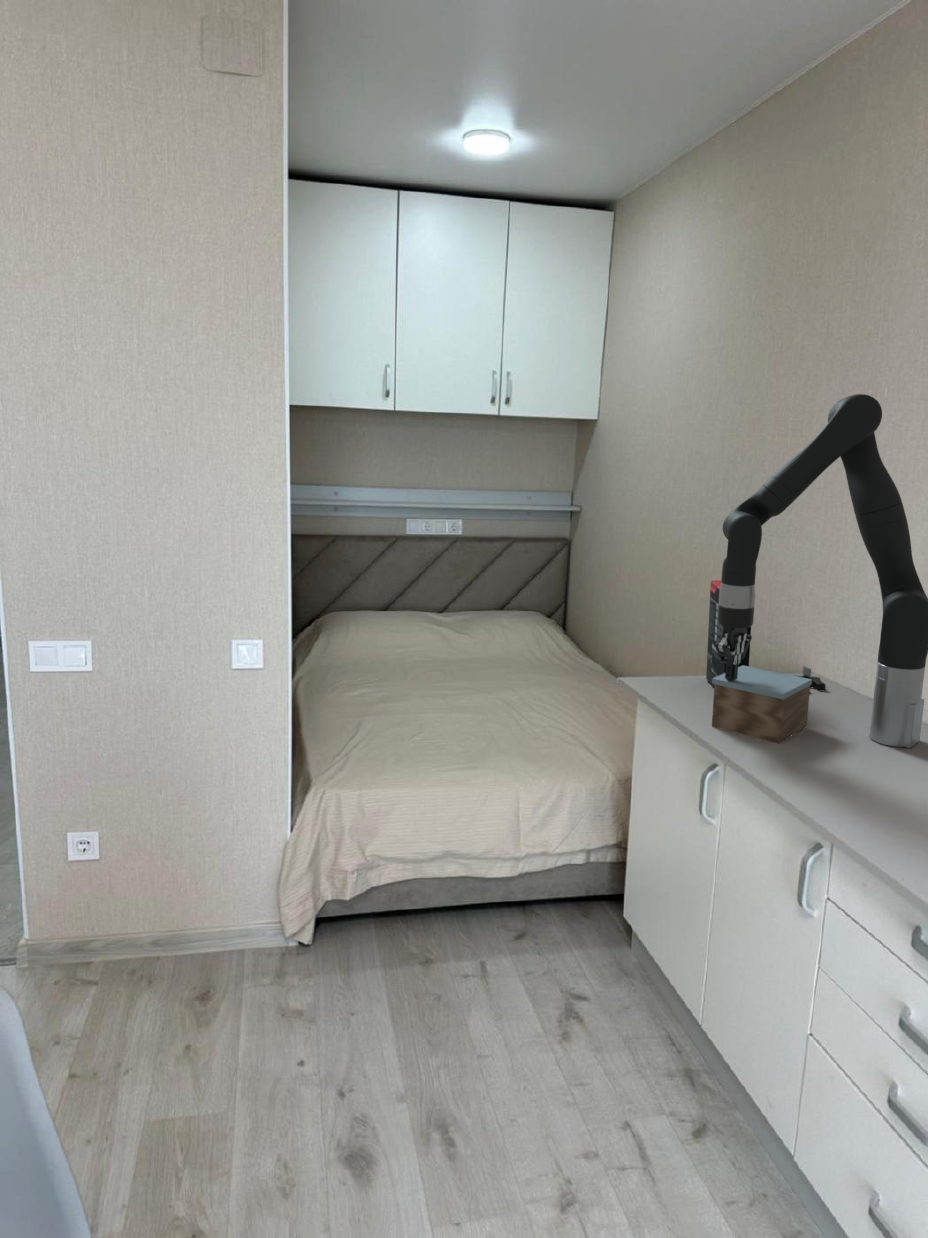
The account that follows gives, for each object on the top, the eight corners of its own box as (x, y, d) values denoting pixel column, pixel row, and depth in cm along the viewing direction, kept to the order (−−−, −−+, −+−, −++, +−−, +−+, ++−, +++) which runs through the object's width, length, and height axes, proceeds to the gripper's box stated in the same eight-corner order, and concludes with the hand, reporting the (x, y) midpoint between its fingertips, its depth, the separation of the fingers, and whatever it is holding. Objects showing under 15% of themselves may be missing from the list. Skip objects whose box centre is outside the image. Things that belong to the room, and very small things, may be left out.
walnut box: (806, 727, 203) (810, 685, 201) (779, 743, 193) (782, 699, 191) (740, 711, 214) (743, 671, 211) (711, 726, 204) (714, 684, 202)
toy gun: (773, 681, 238) (775, 664, 237) (821, 685, 235) (823, 667, 234) (776, 692, 229) (778, 674, 228) (826, 696, 226) (828, 677, 225)
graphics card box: (748, 700, 222) (756, 592, 216) (720, 700, 222) (727, 592, 216) (729, 680, 239) (735, 579, 232) (703, 680, 239) (708, 579, 232)
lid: (812, 684, 201) (813, 678, 200) (782, 699, 190) (783, 694, 190) (743, 670, 212) (743, 664, 212) (711, 684, 201) (712, 678, 201)
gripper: (738, 611, 188) (732, 689, 192) (766, 601, 198) (760, 676, 202) (705, 605, 193) (701, 682, 197) (735, 596, 203) (729, 670, 207)
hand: (731, 679), depth 199 cm, fingers closed
